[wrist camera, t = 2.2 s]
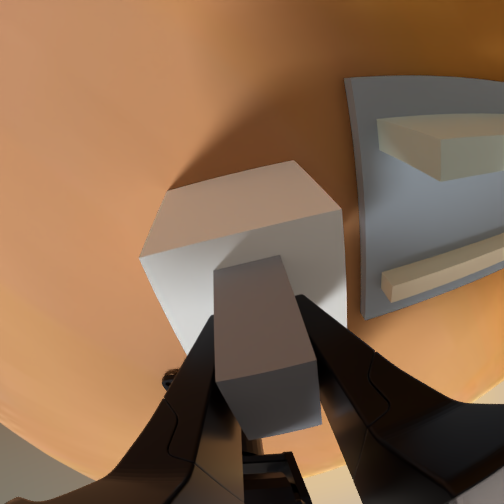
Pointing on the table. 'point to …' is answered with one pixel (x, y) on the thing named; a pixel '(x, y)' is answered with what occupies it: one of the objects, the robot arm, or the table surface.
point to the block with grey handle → (252, 285)
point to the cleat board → (426, 185)
